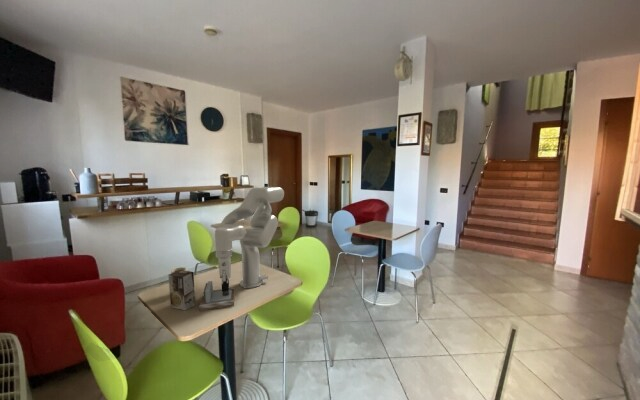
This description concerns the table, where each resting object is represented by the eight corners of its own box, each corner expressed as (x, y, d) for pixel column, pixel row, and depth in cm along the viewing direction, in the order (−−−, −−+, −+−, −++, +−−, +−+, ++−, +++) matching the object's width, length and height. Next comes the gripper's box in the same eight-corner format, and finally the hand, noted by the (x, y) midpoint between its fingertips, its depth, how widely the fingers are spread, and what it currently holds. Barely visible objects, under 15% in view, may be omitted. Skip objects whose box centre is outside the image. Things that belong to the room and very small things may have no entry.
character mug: (185, 288, 142) (184, 265, 141) (194, 290, 139) (192, 267, 137) (165, 296, 132) (164, 271, 131) (174, 299, 129) (173, 274, 128)
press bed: (234, 292, 137) (234, 287, 137) (233, 306, 123) (233, 301, 123) (203, 296, 133) (203, 291, 133) (199, 311, 119) (198, 305, 118)
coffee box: (196, 304, 125) (194, 271, 123) (185, 310, 119) (183, 276, 117) (181, 301, 128) (179, 269, 126) (169, 307, 122) (167, 274, 120)
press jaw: (231, 291, 135) (230, 270, 133) (230, 302, 124) (229, 278, 123) (206, 294, 131) (205, 273, 130) (204, 305, 121) (202, 281, 120)
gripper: (231, 257, 120) (233, 295, 122) (232, 247, 135) (233, 281, 137) (214, 259, 117) (216, 298, 119) (217, 249, 133) (218, 283, 135)
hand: (225, 288), depth 128 cm, fingers closed on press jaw, 3 cm apart
